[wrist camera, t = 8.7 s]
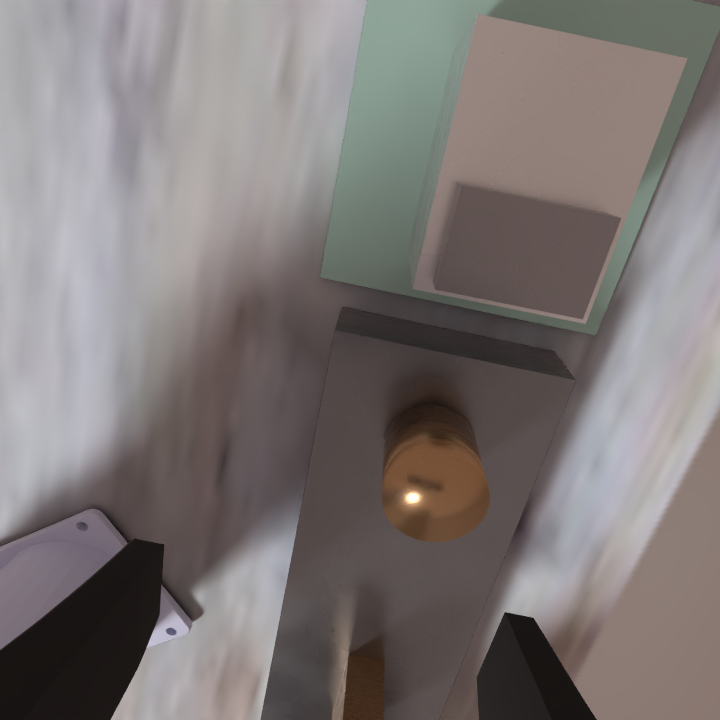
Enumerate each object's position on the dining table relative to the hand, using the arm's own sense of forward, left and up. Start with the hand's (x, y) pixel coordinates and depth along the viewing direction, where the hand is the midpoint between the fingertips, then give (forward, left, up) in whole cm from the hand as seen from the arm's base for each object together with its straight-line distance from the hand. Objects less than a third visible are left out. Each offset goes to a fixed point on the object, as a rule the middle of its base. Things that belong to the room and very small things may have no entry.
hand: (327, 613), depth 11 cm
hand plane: (-2, -7, -10) cm, 13 cm away
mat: (+8, +6, -10) cm, 14 cm away
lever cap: (+8, +5, -10) cm, 14 cm away
